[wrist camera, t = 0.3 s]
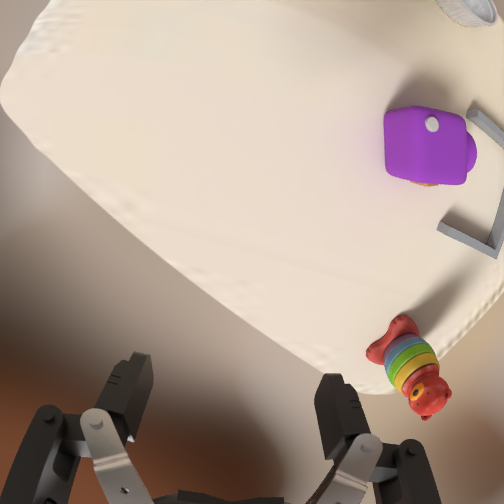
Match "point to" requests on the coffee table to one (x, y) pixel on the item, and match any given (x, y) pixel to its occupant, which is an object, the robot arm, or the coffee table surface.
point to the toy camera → (428, 146)
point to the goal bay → (500, 230)
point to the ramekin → (470, 12)
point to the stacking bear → (411, 367)
